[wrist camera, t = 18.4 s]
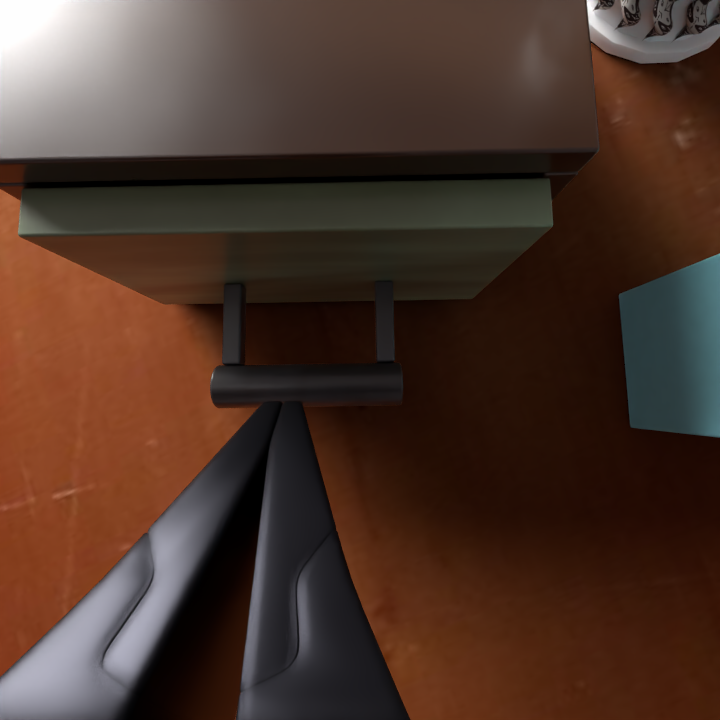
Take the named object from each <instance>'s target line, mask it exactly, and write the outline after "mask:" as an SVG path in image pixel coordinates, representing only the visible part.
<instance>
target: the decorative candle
mask: <svg viewBox="0 0 720 720" xmlns="http://www.w3.org/2000/svg"><path fill="white" fill-rule="evenodd" d="M587 9H588V21H589V32H590V40H591V41H592V42H593V43H594V44H596V45H597V46H598V47H599V48H601V49H602V50H603V51H605V52H606V53H609V54H612V55H615V56H619V57H622V58H625V59H628V60H631V61H634V62H637V63H640V64H643V63H668V62H678V61H681V60H683V59H685V58H688V57H690V56H692V55H694V54H697V53H699V52H701V51H703V50H706V49H708V48H709V47H710V46H711V45H712V44H713V43H714V42H715V41H716V40H717V39H718V38H719V37H720V0H587Z"/></svg>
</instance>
